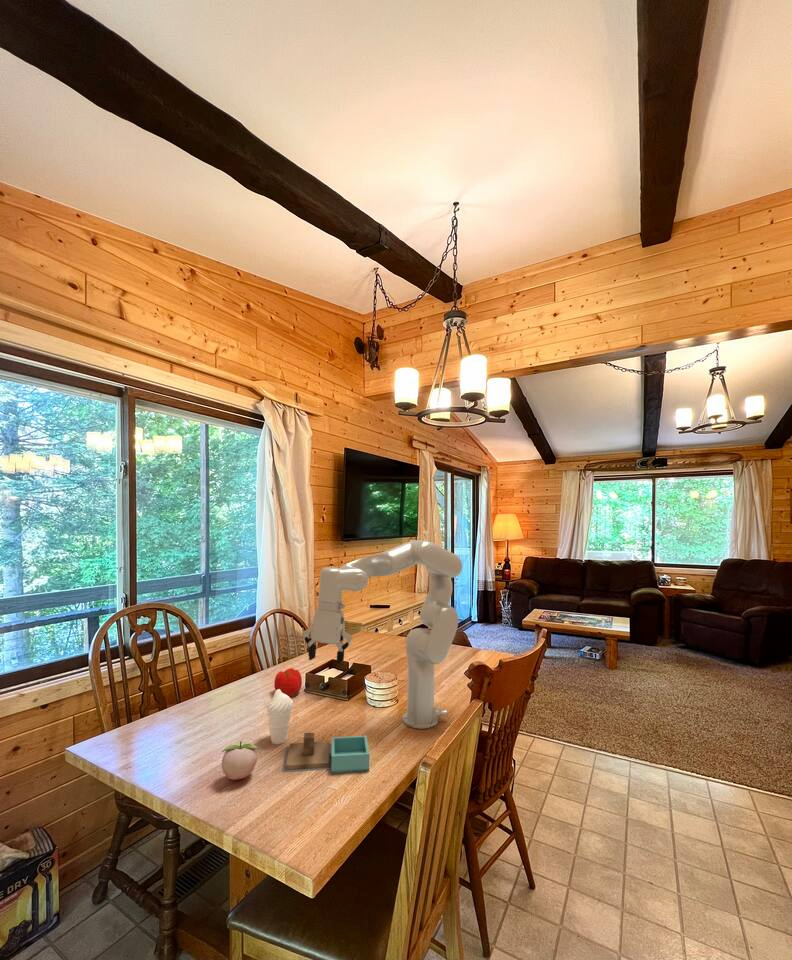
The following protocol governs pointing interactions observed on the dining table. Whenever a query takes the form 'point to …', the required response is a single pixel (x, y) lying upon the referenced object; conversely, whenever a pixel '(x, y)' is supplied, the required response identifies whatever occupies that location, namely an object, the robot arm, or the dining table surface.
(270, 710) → the soft serve ice cream cone
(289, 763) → the lid
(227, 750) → the decorative fruit
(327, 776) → the dining table surface
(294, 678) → the tomato
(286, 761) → the mat
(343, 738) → the open box
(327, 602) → the robot arm
